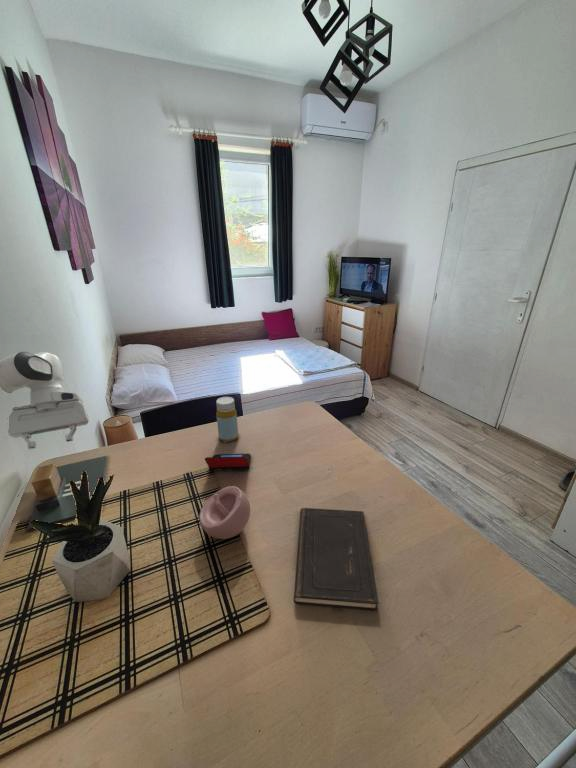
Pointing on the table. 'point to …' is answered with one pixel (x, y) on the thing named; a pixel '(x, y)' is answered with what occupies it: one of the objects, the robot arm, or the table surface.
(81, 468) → the slate board
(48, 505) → the tan rectangular block
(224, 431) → the bottle
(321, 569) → the hardcover book
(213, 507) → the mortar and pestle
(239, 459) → the handheld console
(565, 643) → the table surface
